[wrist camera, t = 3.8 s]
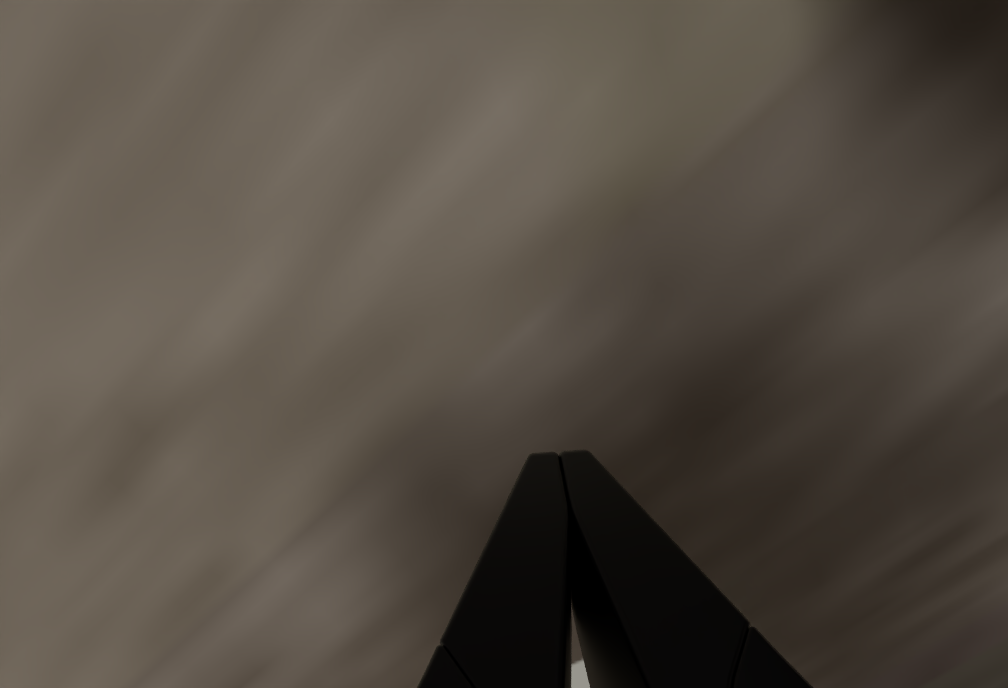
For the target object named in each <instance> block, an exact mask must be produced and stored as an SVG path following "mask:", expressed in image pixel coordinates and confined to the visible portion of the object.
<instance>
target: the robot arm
mask: <svg viewBox="0 0 1008 688" xmlns="http://www.w3.org/2000/svg"><path fill="white" fill-rule="evenodd" d="M571 603H572V610H573V615H574V620H575V625H576V630H577V634H578V638H579V642H580V646H581V651H582V655H583V659H584V663H585V668H586V672H587V676H588V680H589V684H590V688H813V687H812V686H811V685H810V684H809V683H808V682H807V681H806V680H805V679H804V678H803V677H802V676H801V675H800V674H799V673H798V672H797V671H796V670H795V669H794V668H793V667H792V666H791V665H790V664H789V663H788V662H787V661H786V660H785V659H784V658H783V657H782V655H781V654H780V653H779V652H778V651H777V650H776V649H775V648H774V647H773V646H772V645H771V644H770V643H769V642H768V641H767V640H766V639H765V638H764V636H763V635H762V634H761V633H760V632H759V631H758V630H757V629H756V628H755V627H749V625H750V624H749V621H748V620H747V619H746V618H745V617H744V615H743V614H742V613H741V612H740V611H739V610H738V609H737V608H736V607H735V606H734V605H733V604H732V603H731V602H730V601H729V600H728V598H727V597H726V596H725V595H724V594H723V593H722V592H721V591H720V590H719V589H718V588H717V587H716V586H715V585H714V584H713V583H712V581H711V580H710V579H709V578H708V577H707V576H706V575H705V574H704V573H703V572H702V571H701V570H700V569H699V568H698V567H697V565H696V564H695V563H694V562H693V561H692V560H691V559H690V558H689V557H688V556H687V555H686V554H685V553H684V552H683V551H682V550H681V548H680V547H679V546H678V545H677V544H676V543H675V542H674V541H673V540H672V539H671V538H670V537H669V536H668V535H667V534H666V533H665V531H664V530H663V529H662V528H661V527H660V526H659V525H658V524H657V523H656V522H655V521H654V520H653V519H652V518H651V517H650V516H649V514H648V513H647V512H646V511H645V510H644V509H643V508H642V507H641V506H640V505H639V504H638V503H637V502H636V501H635V500H634V499H633V497H632V496H631V495H630V494H629V493H628V492H627V491H626V490H625V489H624V488H623V487H622V486H621V485H620V484H619V483H618V482H617V480H616V479H615V478H614V477H613V476H612V475H611V474H610V473H609V472H608V471H607V470H606V469H605V468H604V467H603V466H602V464H601V463H600V462H599V461H598V460H597V459H596V458H595V457H594V456H593V455H592V454H591V453H590V452H589V451H587V450H574V451H563V452H561V453H560V455H559V456H558V454H557V453H556V452H543V453H532V454H530V455H529V456H528V458H527V460H526V462H525V464H524V466H523V468H522V470H521V472H520V474H519V476H518V478H517V481H516V483H515V485H514V487H513V489H512V491H511V493H510V495H509V497H508V499H507V502H506V504H505V506H504V508H503V510H502V512H501V514H500V516H499V518H498V520H497V522H496V525H495V527H494V529H493V531H492V533H491V535H490V537H489V539H488V541H487V543H486V545H485V548H484V550H483V552H482V554H481V556H480V558H479V560H478V562H477V564H476V566H475V569H474V571H473V573H472V575H471V577H470V579H469V581H468V583H467V585H466V587H465V589H464V592H463V594H462V596H461V598H460V600H459V602H458V604H457V606H456V608H455V610H454V613H453V615H452V617H451V619H450V621H449V623H448V625H447V627H446V629H445V631H444V633H443V636H442V638H441V640H440V644H441V645H439V646H437V648H436V650H435V652H434V654H433V656H432V658H431V660H430V662H429V664H428V666H427V668H426V670H425V673H424V675H423V677H422V679H421V681H420V682H419V684H418V686H417V688H571V642H572V623H571Z"/></svg>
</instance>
